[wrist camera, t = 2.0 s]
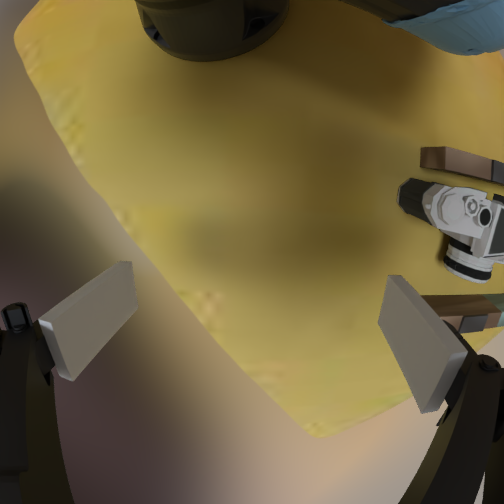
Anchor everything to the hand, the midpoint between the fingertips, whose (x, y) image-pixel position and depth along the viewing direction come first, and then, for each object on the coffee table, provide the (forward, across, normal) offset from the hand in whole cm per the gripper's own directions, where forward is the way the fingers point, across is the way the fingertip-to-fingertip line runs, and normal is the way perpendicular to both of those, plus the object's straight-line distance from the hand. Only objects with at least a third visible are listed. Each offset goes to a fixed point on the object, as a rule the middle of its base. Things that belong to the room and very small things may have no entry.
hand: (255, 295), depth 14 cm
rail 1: (+14, +25, +8) cm, 30 cm away
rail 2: (+14, +25, -8) cm, 30 cm away
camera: (+15, +20, +2) cm, 25 cm away
